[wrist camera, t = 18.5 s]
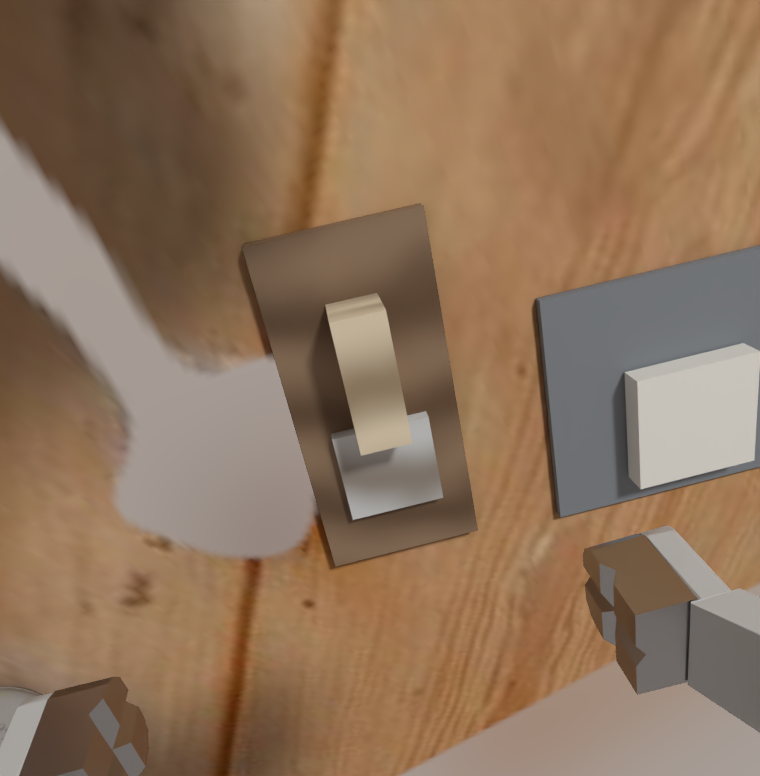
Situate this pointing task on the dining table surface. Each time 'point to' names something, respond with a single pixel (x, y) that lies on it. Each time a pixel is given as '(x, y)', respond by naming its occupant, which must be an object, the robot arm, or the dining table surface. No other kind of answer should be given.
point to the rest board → (323, 376)
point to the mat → (633, 363)
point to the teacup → (11, 705)
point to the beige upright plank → (378, 417)
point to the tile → (692, 415)
